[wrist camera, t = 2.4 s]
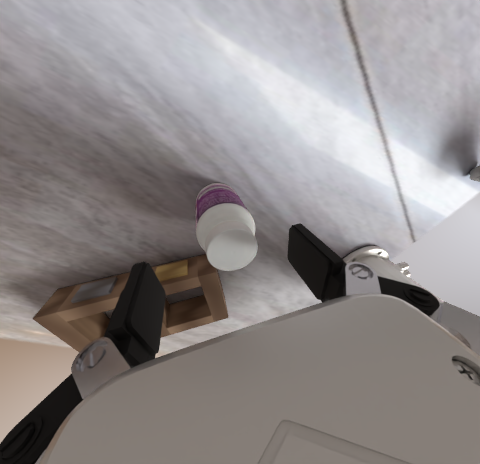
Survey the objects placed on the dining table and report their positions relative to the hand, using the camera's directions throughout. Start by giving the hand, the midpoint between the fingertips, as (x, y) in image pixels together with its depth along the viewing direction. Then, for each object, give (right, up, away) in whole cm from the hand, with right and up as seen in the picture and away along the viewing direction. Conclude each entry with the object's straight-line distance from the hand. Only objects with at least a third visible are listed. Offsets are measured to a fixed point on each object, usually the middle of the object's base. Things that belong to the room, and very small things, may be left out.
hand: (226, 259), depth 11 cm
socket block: (-12, -7, +14) cm, 20 cm away
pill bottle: (-2, +5, +10) cm, 11 cm away
